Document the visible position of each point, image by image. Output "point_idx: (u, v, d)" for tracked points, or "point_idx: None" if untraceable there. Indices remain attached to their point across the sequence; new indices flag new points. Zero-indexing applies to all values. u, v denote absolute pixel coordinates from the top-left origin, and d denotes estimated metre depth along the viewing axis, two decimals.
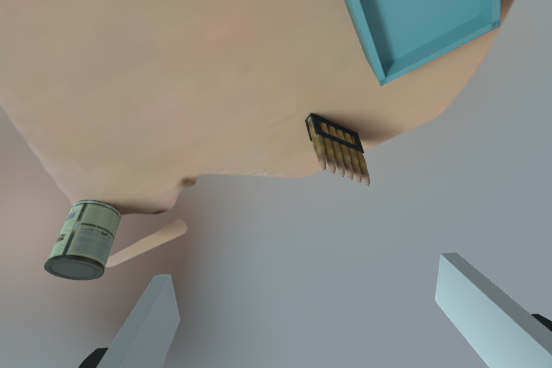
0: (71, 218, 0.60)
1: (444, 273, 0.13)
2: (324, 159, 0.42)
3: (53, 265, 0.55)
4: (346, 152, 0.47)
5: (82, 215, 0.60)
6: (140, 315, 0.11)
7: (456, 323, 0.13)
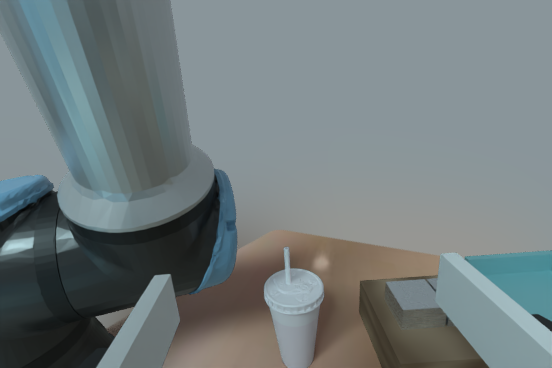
0: None
1: (444, 273, 0.13)
2: None
3: None
4: None
5: None
6: (140, 315, 0.11)
7: (456, 323, 0.13)
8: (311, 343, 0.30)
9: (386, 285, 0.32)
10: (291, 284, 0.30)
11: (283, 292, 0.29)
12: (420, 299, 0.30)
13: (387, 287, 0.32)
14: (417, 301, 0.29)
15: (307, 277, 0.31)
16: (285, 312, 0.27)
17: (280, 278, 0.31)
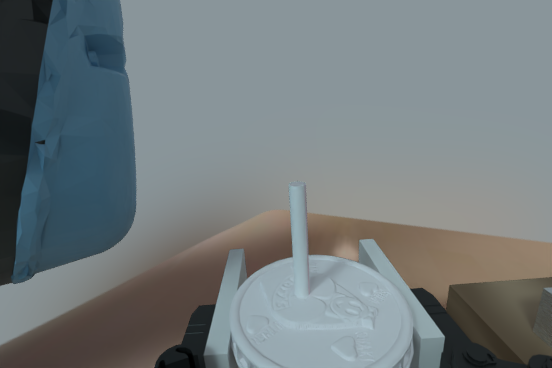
0: None
1: (361, 257, 0.15)
2: None
3: None
4: None
5: None
6: (232, 279, 0.13)
7: None
8: None
9: (550, 297, 0.13)
10: (311, 298, 0.10)
11: (287, 324, 0.09)
12: None
13: None
14: None
15: (352, 277, 0.11)
16: None
17: (278, 280, 0.11)
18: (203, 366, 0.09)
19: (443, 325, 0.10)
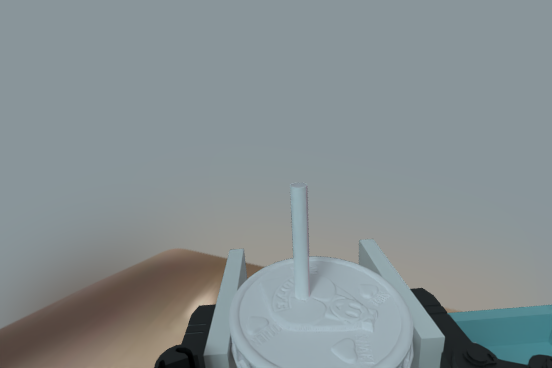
0: None
1: (361, 257, 0.15)
2: None
3: None
4: None
5: None
6: (232, 279, 0.13)
7: None
8: None
9: None
10: (311, 299, 0.10)
11: (287, 325, 0.09)
12: None
13: None
14: None
15: (352, 279, 0.11)
16: None
17: (278, 281, 0.11)
18: (203, 366, 0.09)
19: (444, 325, 0.10)
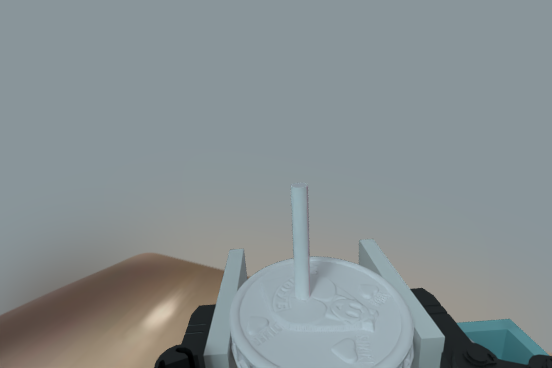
0: None
1: (361, 257, 0.15)
2: None
3: None
4: None
5: None
6: (232, 279, 0.13)
7: None
8: None
9: None
10: (311, 299, 0.10)
11: (287, 325, 0.09)
12: None
13: None
14: None
15: (353, 279, 0.11)
16: None
17: (279, 281, 0.11)
18: (203, 366, 0.09)
19: (443, 325, 0.10)
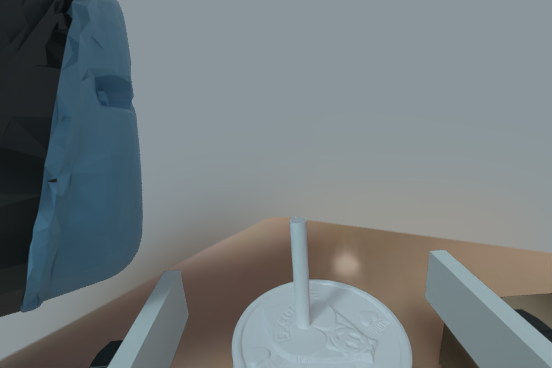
0: None
1: (432, 270, 0.14)
2: None
3: None
4: None
5: None
6: (152, 309, 0.11)
7: (444, 319, 0.13)
8: None
9: None
10: (312, 329, 0.10)
11: (288, 357, 0.10)
12: None
13: None
14: None
15: (352, 305, 0.12)
16: None
17: (280, 308, 0.11)
18: None
19: None
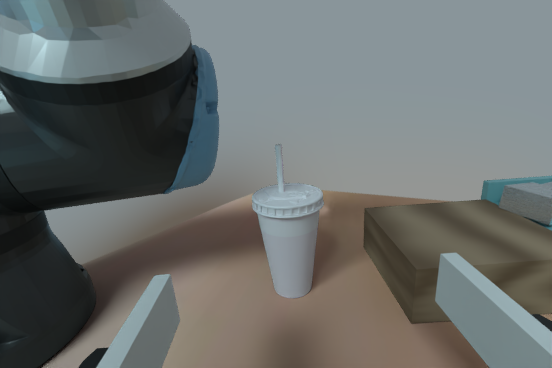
0: None
1: (444, 273, 0.13)
2: None
3: None
4: None
5: None
6: (140, 315, 0.11)
7: (456, 323, 0.13)
8: (308, 263, 0.25)
9: (507, 188, 0.29)
10: (284, 192, 0.25)
11: (274, 199, 0.24)
12: None
13: (510, 189, 0.29)
14: None
15: (304, 188, 0.26)
16: (276, 216, 0.23)
17: (272, 189, 0.26)
18: None
19: None
